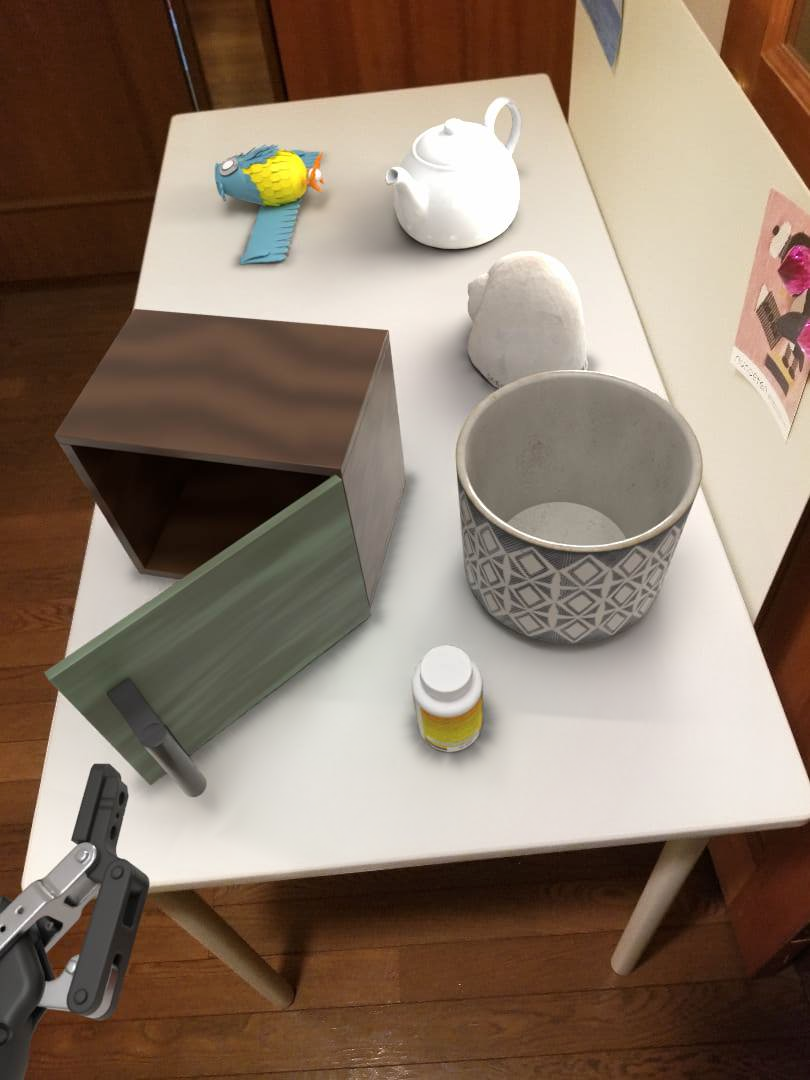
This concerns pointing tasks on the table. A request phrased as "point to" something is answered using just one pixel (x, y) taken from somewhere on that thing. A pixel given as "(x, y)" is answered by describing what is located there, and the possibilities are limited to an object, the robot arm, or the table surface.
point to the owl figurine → (269, 194)
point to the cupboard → (235, 433)
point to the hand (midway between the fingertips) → (24, 767)
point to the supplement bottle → (448, 698)
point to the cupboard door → (220, 638)
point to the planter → (573, 501)
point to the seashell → (525, 319)
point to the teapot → (458, 182)
